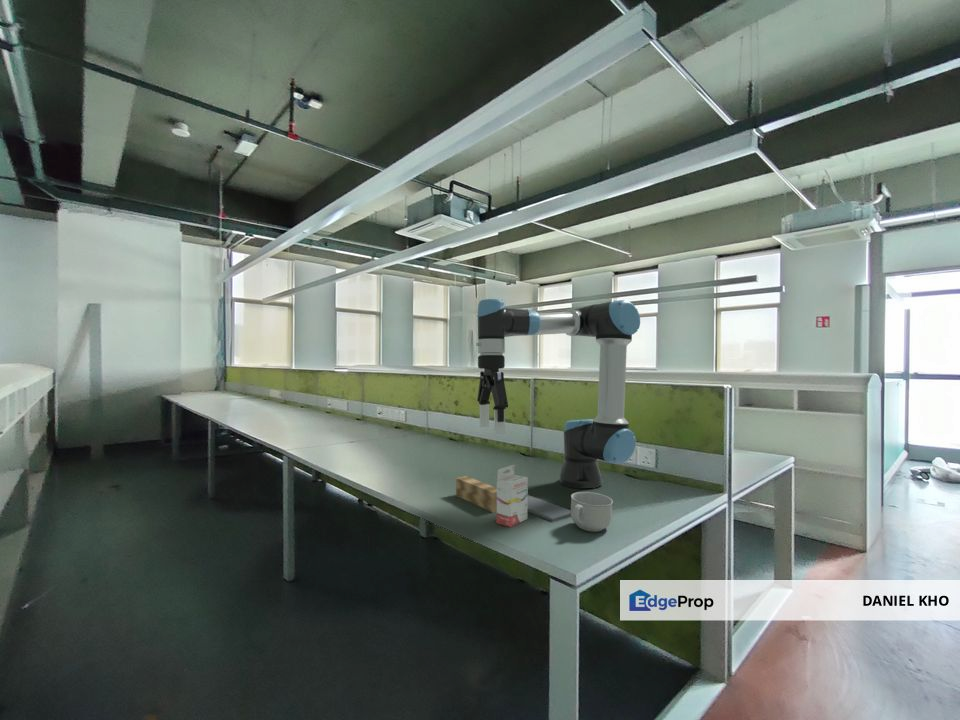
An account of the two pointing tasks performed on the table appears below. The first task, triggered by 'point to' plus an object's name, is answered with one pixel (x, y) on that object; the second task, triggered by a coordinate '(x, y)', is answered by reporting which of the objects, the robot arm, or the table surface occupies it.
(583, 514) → the teacup
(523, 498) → the ink cartridge box
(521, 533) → the table surface
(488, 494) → the oak stick
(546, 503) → the tool mat
